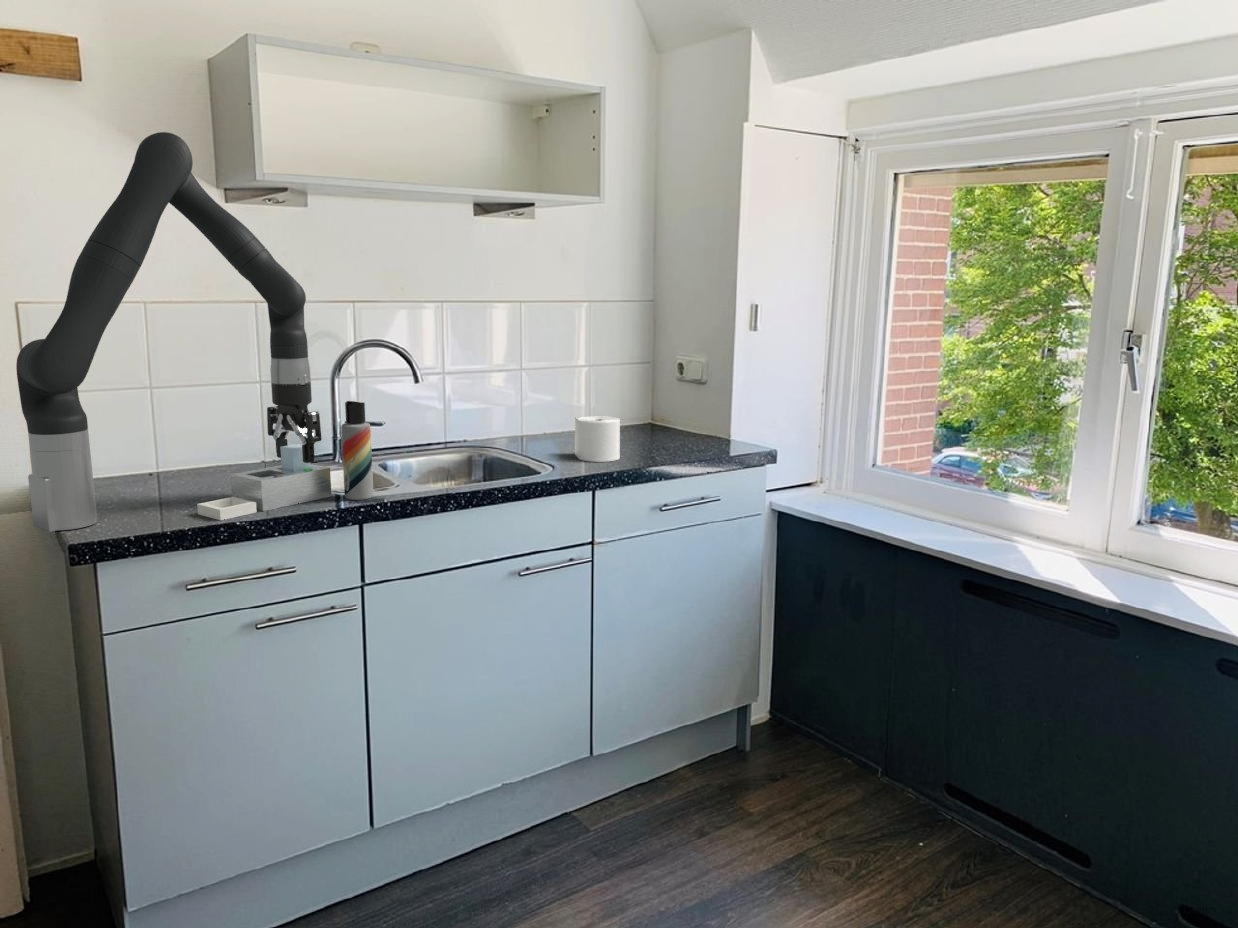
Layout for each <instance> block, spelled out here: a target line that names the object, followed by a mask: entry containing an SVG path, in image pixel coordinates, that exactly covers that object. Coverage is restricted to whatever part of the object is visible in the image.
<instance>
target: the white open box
mask: <svg viewBox="0 0 1238 928" xmlns="http://www.w3.org/2000/svg"><path fill="white" fill-rule="evenodd" d="M196 506H197V515H200V516H204V517H207V518H211V519H214V520H219V521H225V520H228V519H234V518H236V517H241V516H247V515H251V514H256V513H257V512H258V510H256V502H253V501H248V500H244V499H240V498H236V497H232V496H231V497H225V498H221V499H220V498H219V499H216V500H215V499H214V500H211V501H206V502H200V503H197V505H196ZM224 519H225V520H224Z"/></svg>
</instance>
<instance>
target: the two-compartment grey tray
mask: <svg viewBox="0 0 1238 928" xmlns="http://www.w3.org/2000/svg"><path fill="white" fill-rule="evenodd" d="M310 465H311V468H305V469H304V470H301V471H296V472H290V471H285V470H282V465H280V464H279V465H276V466H275V465H274V466H269V467H264V468H259V469H253V470H252V469H251V470H247V471H242V472H238V473H237V472H236V473H231V474H230V482H231V483H230V484H231V495H232V496H231V497H236V498H240V499H244V500H248V501H253V502H256V510H257V511H260V512H267V511H270V510H275V509H279V508H280V509H282V508H285V507H290V506H294V505H298V503H299V504H302V503H308V502H312V501H316V500H322V499H325V498H329V497H330V498H331V497H332V482H331V481H332V480H331V479H332V477H331V467H328V466H321V465H317V464H311V463H310Z"/></svg>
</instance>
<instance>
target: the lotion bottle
mask: <svg viewBox="0 0 1238 928" xmlns="http://www.w3.org/2000/svg"><path fill="white" fill-rule="evenodd" d="M344 404H345V405H344V409H345V411H344V412H345V423H342V424H341V426H340V427H341V447H342V469H343V486H344V487H343V488H344V491H343V492H344V498H345V499H347V500H351V501H352V500H355V501H361V500H367V499H371V498H373V497H374V479H373V478H374V477H373V475H374V473H373V458H372V457H373V456H372V455H373V453H372V451H373V450H372V432H371V431H372V430H371V429H372V428H371V424H370V422H366V405H365V402H360V401H353V400H352V401H351V400H346V402H345V403H344Z"/></svg>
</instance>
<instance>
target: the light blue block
mask: <svg viewBox="0 0 1238 928" xmlns="http://www.w3.org/2000/svg"><path fill="white" fill-rule="evenodd" d="M302 445H303V444H298V443H295V444H289V445H288V446H282V447H280V449H281V458H280V462H281V463H280V464H281V465H282V470H285V471H290V472H296V471H301V470H304V469H305V468H311V465H310V464H311V463H304V462H303V454H302Z"/></svg>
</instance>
